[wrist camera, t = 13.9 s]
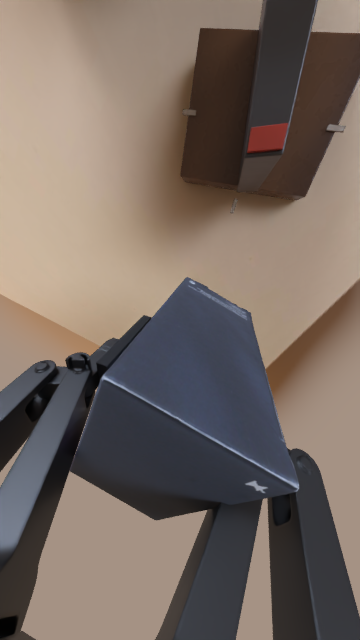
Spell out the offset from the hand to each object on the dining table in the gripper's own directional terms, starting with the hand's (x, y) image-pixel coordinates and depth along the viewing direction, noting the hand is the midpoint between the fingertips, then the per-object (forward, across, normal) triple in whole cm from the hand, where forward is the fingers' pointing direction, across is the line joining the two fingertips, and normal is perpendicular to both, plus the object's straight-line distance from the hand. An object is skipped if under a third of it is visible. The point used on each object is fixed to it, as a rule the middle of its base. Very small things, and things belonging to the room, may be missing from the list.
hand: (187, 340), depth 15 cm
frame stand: (+14, +1, +19) cm, 24 cm away
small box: (+1, 0, 0) cm, 1 cm away
